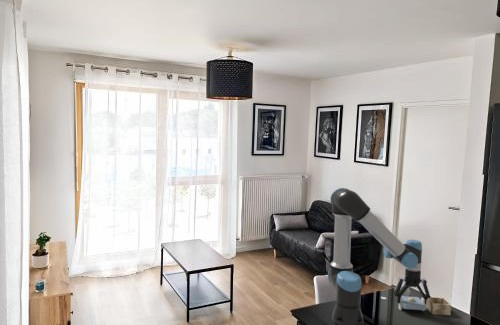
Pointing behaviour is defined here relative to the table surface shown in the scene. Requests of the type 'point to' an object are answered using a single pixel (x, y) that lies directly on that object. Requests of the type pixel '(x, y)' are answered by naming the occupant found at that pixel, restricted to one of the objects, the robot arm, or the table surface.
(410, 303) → the lid
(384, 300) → the table surface
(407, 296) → the grey faceted lump
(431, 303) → the box
